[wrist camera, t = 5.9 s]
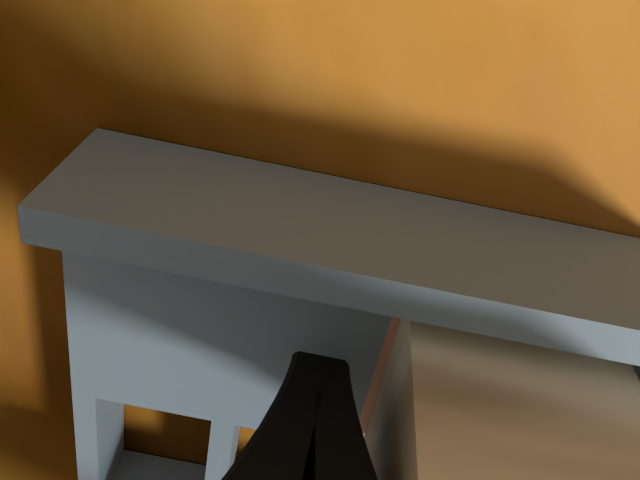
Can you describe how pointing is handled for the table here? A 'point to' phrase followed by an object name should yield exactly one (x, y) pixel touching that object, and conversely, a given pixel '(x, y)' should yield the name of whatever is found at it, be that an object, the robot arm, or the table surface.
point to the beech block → (501, 411)
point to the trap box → (288, 286)
